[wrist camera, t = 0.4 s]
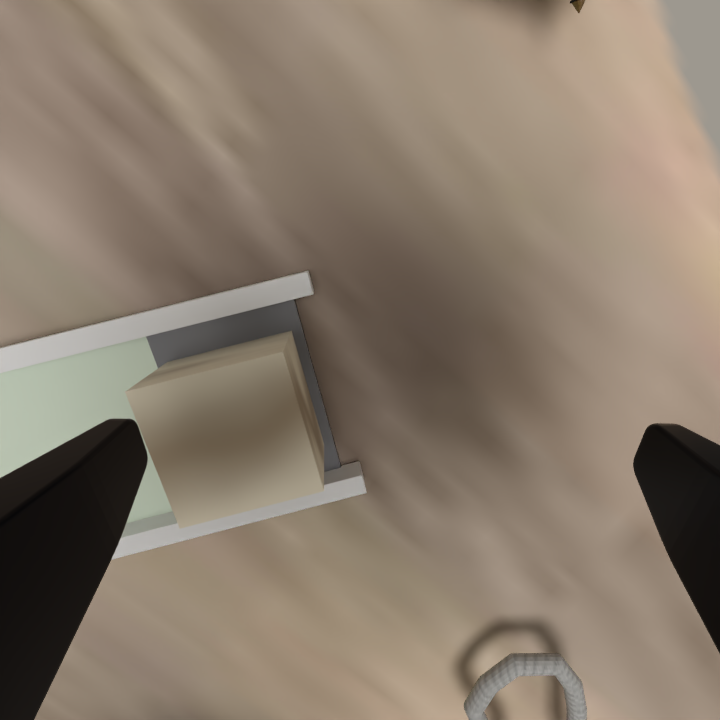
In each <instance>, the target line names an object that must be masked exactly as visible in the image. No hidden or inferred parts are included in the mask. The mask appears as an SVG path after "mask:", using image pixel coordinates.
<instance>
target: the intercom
mask: <svg viewBox="0 0 720 720" xmlns="http://www.w3.org/2000/svg"><path fill="white" fill-rule="evenodd" d="M549 675H555V676H556V678H557V679H558V681H559V682H560V683H561V685H562V686H563V688H564V694H565V700H566V705H567V720H587V708H586V702H585V696H584V691H583V685H582V682H581V680H580V679H579V677H578V676H577V675H576V674H575V672H574V671H573V670H572V669H571V667H570V666H569V665H568V664H567V662H566V661H565V660H564V659H563V657H562V656H561V655H560V654H558V653H519V654H509V655H508V656H507V657H505V658H504V659H503V660H501V661H500V662H499V663H497V664H496V665H495V666H493V667H492V668H491V669H489V670H488V671H487V672H485V673H484V674H483V675H481V676H480V677H479V679H478V681H477V682H476V684H475V686H474V687H473V689H472V690H471V692H470V694H469V695H468V697H467V699H466V700H465V702H464V709H465V711H466V714H467V716H468V718H469V720H488V719H487V717H486V715H485V712H484V711H485V709H486V708H487V706H488V705H489V703H490V702H491V700H492V699H493V697H494V696H495V694H496V693H497V692H498V691H499V690H500V689H502V688H503V687H504V686H506V685H507V684H509V683H510V682H511V681H513V680H514V679H516V678H517V677H518V676H549Z"/></svg>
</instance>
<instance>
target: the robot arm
mask: <svg viewBox="0 0 720 720" xmlns="http://www.w3.org/2000/svg"><path fill="white" fill-rule="evenodd" d="M147 462H148V455H147V451H146V448H145V445H144V442H143V439H142V436H141V433H140V430H139V427H138V425H137V423H136V422H135V421H134V420H132V419H120V418H113V419H108V420H106V421H104V422H102V423H100V424H98V425H97V426H95V427H93V428H91V429H89V430H87V431H86V432H84V433H82V434H80V435H78V436H76V437H74V438H73V439H71V440H69V441H67V442H65V443H63V444H62V445H60V446H58V447H56V448H54V449H52V450H51V451H49V452H47V453H45V454H43V455H41V456H40V457H38V458H36V459H34V460H32V461H30V462H28V463H27V464H25V465H23V466H21V467H19V468H17V469H16V470H14V471H12V472H10V473H8V474H6V475H5V476H3V477H1V478H0V720H34V719H35V717H36V715H37V712H38V710H39V708H40V706H41V704H42V702H43V700H44V698H45V696H46V694H47V692H48V690H49V688H50V686H51V683H52V681H53V679H54V677H55V675H56V673H57V671H58V669H59V667H60V665H61V663H62V661H63V659H64V657H65V654H66V652H67V650H68V648H69V646H70V644H71V642H72V640H73V638H74V636H75V634H76V632H77V630H78V628H79V625H80V623H81V621H82V619H83V617H84V615H85V613H86V611H87V609H88V607H89V605H90V603H91V601H92V599H93V596H94V594H95V592H96V590H97V588H98V586H99V584H100V582H101V580H102V578H103V576H104V574H105V572H106V570H107V567H108V565H109V563H110V561H111V559H112V557H113V555H114V553H115V550H116V548H117V546H118V544H119V541H120V539H121V536H122V534H123V531H124V528H125V525H126V523H127V520H128V517H129V514H130V512H131V509H132V506H133V503H134V500H135V498H136V495H137V492H138V489H139V487H140V484H141V481H142V478H143V475H144V473H145V470H146V467H147ZM633 467H634V472H635V475H636V478H637V480H638V483H639V485H640V488H641V490H642V492H643V495H644V497H645V500H646V502H647V505H648V507H649V510H650V512H651V515H652V517H653V520H654V522H655V525H656V527H657V530H658V532H659V535H660V537H661V540H662V542H663V544H664V546H665V549H666V551H667V553H668V555H669V557H670V559H671V562H672V564H673V566H674V568H675V570H676V571H677V573H678V575H679V577H680V579H681V581H682V583H683V585H684V587H685V589H686V590H687V592H688V594H689V596H690V598H691V600H692V602H693V604H694V606H695V608H696V609H697V611H698V613H699V615H700V617H701V619H702V621H703V623H704V625H705V627H706V628H707V630H708V632H709V634H710V636H711V638H712V640H713V642H714V644H715V646H716V647H717V649H718V651H719V653H720V445H718V444H716V443H714V442H712V441H710V440H708V439H706V438H704V437H702V436H700V435H698V434H696V433H694V432H693V431H691V430H689V429H687V428H685V427H683V426H681V425H678V424H662V423H655V424H651V425H650V426H648V427H647V429H646V430H645V433H644V435H643V438H642V440H641V442H640V445H639V447H638V450H637V452H636V455H635V457H634V462H633Z"/></svg>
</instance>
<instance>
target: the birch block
mask: <svg viewBox="0 0 720 720" xmlns="http://www.w3.org/2000/svg"><path fill="white" fill-rule="evenodd" d="M125 393H126V396H127V398H128V401H129V403H130V406H131V408H132V411H133V413H134V416H135V418H136V421H137V423H138V426H139V428H140V431H141V433H142V436H143V438H144V441H145V443H146V446H147V448H148V451H149V453H150V456H151V458H152V461H153V463H154V466H155V468H156V471H157V473H158V476H159V478H160V481H161V483H162V486H163V488H164V491H165V493H166V496H167V498H168V501H169V503H170V506H171V508H172V511H173V513H174V516H175V518H176V521H177V523H178V526H179V528H180V529H181V528H185V527H188V526H192V525H196V524H200V523H204V522H208V521H211V520H215V519H219V518H223V517H227V516H231V515H234V514H238V513H242V512H246V511H250V510H254V509H257V508H261V507H265V506H269V505H273V504H277V503H280V502H284V501H288V500H292V499H296V498H300V497H304V496H307V495H311V494H315V493H319V492H323V491H324V442H323V439H322V435H321V432H320V428H319V425H318V421H317V418H316V414H315V411H314V407H313V404H312V400H311V397H310V393H309V390H308V386H307V383H306V379H305V376H304V372H303V369H302V365H301V362H300V358H299V355H298V351H297V348H296V344H295V341H294V337H293V334H292V331H288V332H284V333H280V334H276V335H272V336H268V337H264V338H260V339H256V340H252V341H248V342H245V343H241V344H237V345H233V346H229V347H225V348H221V349H217V350H213V351H209V352H205V353H201V354H197V355H193V356H189V357H185V358H181V359H177V360H173V361H169V362H167V363H165V364H164V365H162V366H161V367H159V368H158V369H157V370H155V371H154V372H152V373H151V374H149V375H148V376H147V377H145V378H144V379H142V380H141V381H139V382H138V383H137V384H135V385H134V386H132V387H131V388H129V389H128V390H127V391H125Z"/></svg>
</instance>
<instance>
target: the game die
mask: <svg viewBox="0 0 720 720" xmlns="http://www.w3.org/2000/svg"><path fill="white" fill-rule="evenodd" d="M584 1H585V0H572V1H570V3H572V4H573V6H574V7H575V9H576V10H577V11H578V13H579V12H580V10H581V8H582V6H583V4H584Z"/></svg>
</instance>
